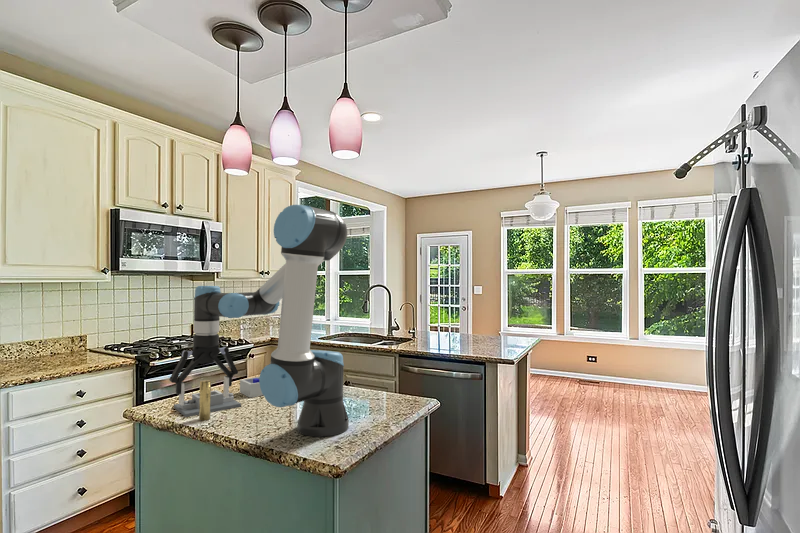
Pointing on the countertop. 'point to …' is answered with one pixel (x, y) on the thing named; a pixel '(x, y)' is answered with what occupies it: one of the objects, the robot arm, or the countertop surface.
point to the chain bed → (216, 403)
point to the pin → (205, 400)
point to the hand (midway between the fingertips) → (204, 400)
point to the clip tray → (250, 387)
